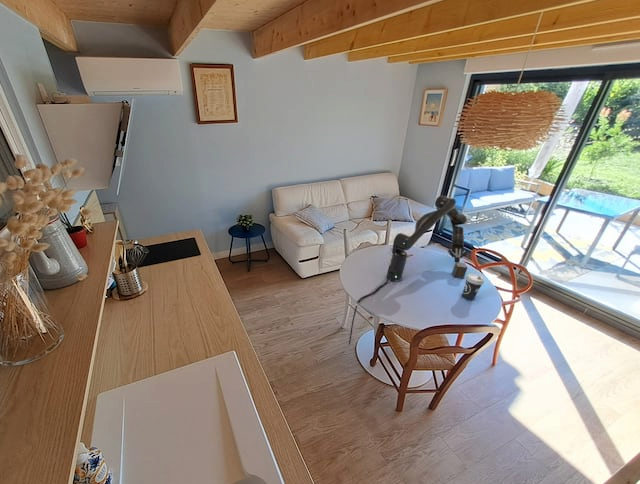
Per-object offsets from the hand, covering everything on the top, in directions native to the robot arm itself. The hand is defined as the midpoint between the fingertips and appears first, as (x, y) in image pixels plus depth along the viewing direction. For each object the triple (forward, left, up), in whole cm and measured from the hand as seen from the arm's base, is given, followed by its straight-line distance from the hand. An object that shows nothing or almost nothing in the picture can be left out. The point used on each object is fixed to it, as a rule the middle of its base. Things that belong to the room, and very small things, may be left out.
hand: (457, 263), depth 206 cm
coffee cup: (-22, -25, -6) cm, 33 cm away
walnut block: (-5, -6, -6) cm, 10 cm away
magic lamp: (-27, +27, -6) cm, 39 cm away
